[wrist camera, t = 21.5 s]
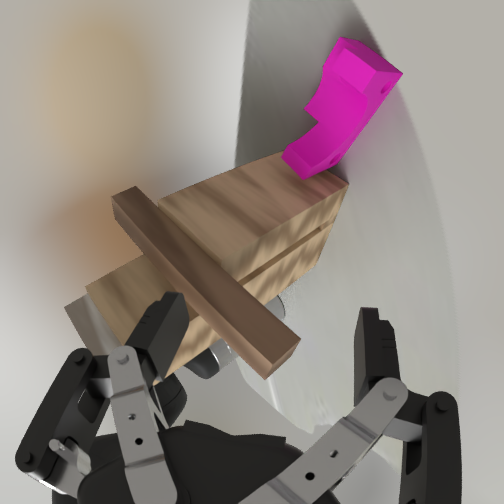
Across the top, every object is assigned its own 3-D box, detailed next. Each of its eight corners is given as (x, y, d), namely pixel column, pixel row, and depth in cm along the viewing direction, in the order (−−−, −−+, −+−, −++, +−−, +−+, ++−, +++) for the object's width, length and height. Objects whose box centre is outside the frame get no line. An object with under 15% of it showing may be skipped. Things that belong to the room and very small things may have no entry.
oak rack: (315, 264, 49) (126, 404, 30) (270, 228, 53) (84, 341, 34) (349, 184, 38) (82, 344, 19) (290, 148, 42) (39, 258, 23)
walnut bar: (290, 356, 25) (264, 380, 24) (138, 208, 36) (114, 218, 34) (301, 338, 23) (272, 364, 21) (135, 185, 33) (111, 196, 31)
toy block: (359, 40, 27) (324, 34, 23) (403, 73, 26) (376, 71, 22) (304, 132, 39) (266, 143, 35) (337, 163, 38) (303, 180, 34)
